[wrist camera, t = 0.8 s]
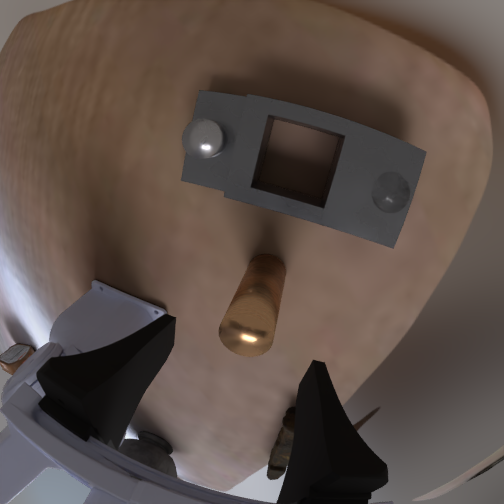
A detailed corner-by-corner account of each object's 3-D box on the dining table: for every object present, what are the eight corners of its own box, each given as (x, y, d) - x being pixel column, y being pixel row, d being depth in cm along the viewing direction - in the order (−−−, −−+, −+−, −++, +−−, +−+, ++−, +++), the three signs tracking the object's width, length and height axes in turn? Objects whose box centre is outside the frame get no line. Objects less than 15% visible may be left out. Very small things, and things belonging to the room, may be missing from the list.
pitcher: (169, 430, 36) (103, 565, 9) (193, 469, 43) (151, 570, 16) (118, 413, 38) (48, 527, 11) (150, 455, 46) (104, 548, 18)
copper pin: (244, 282, 22) (215, 346, 15) (252, 249, 21) (223, 307, 14) (279, 292, 22) (264, 362, 15) (290, 260, 21) (279, 324, 13)
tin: (20, 351, 43) (0, 370, 35) (13, 340, 42) (-7, 359, 34) (43, 356, 38) (20, 380, 31) (35, 343, 37) (10, 367, 30)
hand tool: (286, 401, 28) (281, 433, 23) (319, 407, 27) (317, 439, 23) (258, 457, 35) (252, 479, 31) (281, 461, 35) (277, 483, 31)
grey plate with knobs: (189, 177, 20) (171, 184, 17) (206, 93, 17) (190, 86, 14) (382, 233, 18) (393, 248, 16) (409, 150, 16) (426, 151, 13)
